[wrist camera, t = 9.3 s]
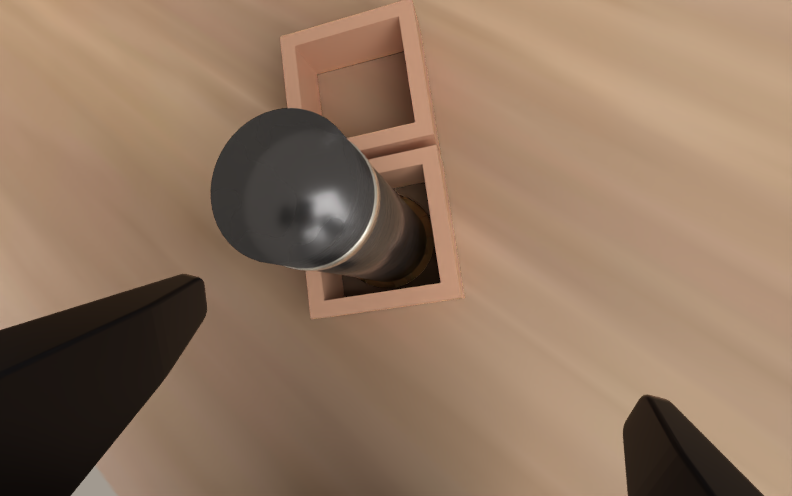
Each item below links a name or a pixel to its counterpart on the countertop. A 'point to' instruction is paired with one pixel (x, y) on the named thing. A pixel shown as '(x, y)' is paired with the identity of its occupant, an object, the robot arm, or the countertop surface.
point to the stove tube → (312, 201)
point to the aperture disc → (427, 255)
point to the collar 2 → (430, 169)
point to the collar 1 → (357, 44)
